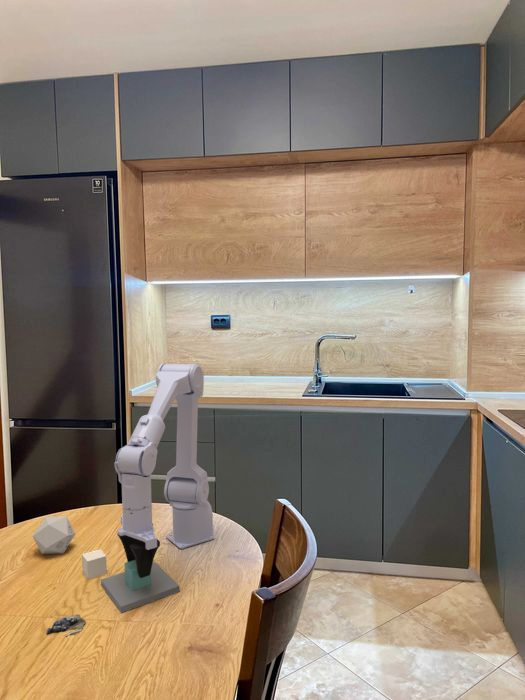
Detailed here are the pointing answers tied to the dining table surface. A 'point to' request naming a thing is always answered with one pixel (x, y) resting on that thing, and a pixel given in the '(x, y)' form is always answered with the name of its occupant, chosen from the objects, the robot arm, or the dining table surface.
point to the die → (54, 535)
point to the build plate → (132, 599)
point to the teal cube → (135, 576)
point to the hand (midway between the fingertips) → (139, 570)
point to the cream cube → (94, 564)
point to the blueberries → (67, 625)
